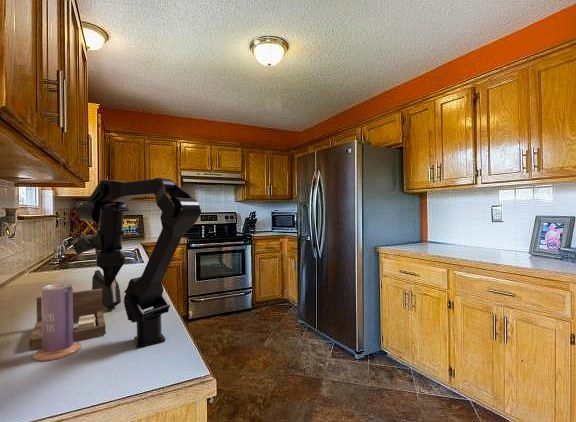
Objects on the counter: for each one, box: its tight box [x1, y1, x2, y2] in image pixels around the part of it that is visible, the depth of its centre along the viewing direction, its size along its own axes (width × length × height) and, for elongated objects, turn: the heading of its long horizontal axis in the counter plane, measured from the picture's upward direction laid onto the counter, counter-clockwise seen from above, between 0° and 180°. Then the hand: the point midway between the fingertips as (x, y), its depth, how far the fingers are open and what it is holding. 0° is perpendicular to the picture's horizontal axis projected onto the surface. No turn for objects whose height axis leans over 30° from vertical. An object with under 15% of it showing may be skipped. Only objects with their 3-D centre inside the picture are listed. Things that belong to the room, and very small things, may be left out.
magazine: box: [91, 269, 122, 310], centre depth 116 cm, size 17×3×30 cm
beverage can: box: [40, 282, 74, 354], centre depth 73 cm, size 6×6×15 cm
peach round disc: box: [32, 341, 82, 362], centre depth 73 cm, size 9×9×1 cm
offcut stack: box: [77, 314, 97, 330], centre depth 87 cm, size 10×4×4 cm, turn 32°
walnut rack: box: [28, 289, 107, 351], centre depth 86 cm, size 18×16×9 cm
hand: (106, 281), depth 86 cm, fingers open, 9 cm apart
